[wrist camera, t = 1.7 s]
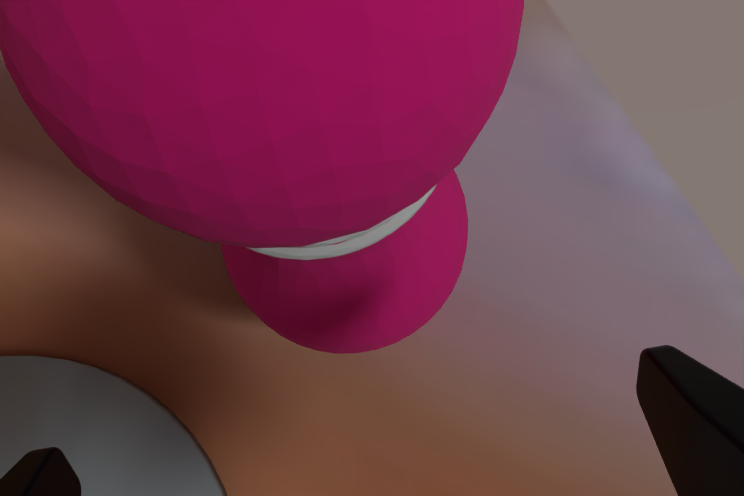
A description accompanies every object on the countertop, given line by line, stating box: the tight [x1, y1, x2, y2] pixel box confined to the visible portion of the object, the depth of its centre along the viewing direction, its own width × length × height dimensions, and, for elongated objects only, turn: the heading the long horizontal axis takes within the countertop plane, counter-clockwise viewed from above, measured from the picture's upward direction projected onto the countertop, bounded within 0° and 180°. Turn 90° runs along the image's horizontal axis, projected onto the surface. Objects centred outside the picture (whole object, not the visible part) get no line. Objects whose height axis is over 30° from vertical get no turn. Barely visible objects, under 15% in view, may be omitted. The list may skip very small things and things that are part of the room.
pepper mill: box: [0, 0, 524, 353], centre depth 13 cm, size 7×7×20 cm
